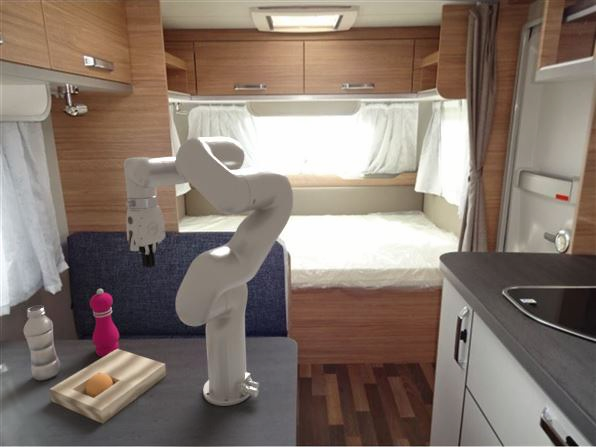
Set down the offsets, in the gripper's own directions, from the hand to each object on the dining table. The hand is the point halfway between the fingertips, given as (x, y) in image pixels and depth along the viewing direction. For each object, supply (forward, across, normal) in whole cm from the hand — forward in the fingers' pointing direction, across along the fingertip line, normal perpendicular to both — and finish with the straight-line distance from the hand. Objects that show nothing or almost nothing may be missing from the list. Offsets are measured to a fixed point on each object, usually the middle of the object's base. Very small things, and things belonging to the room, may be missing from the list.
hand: (149, 266), depth 113 cm
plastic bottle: (+27, -22, +18) cm, 39 cm away
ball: (+24, -22, -2) cm, 33 cm away
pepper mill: (+27, -6, +14) cm, 31 cm away
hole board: (+27, -18, -2) cm, 33 cm away
